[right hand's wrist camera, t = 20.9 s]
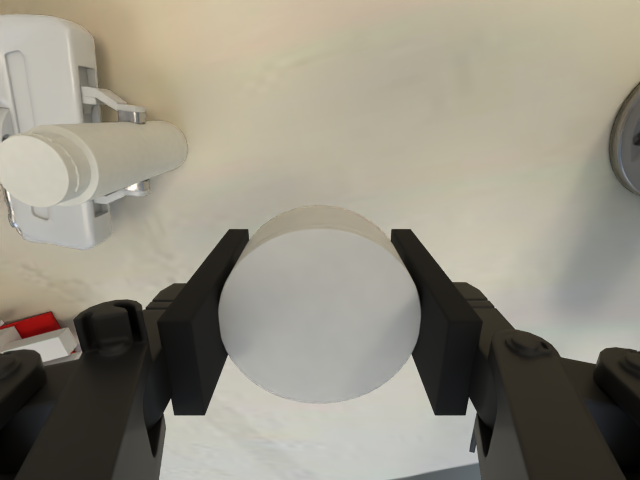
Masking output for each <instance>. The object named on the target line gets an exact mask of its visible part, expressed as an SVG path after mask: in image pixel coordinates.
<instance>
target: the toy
mask: <svg viewBox="0 0 640 480" xmlns="http://www.w3.org/2000/svg"><path fill="white" fill-rule="evenodd" d="M3 324H4V322H3V321H2V320H0V353H4V352H7V351H14V350H21V349H29V350H35V351H37V352H38V353H39V354H40V355H41V358H42V361H43V364H44V366H46V365H51V364H56V363H62V362H67V361H72V360H76V359H79V358H80V356H81V354H82V351H80V352H76V353H75V352H74V349H75V348H76V346H77V345H78V344H77V342H76V340H75V339H74V337H73V335H72V333H71V331H70V329H69V328H68V327H66V328H63V329H61V328H60V327H59V325H58V323H57V322H56V320H55V318H54V316H53V315H52V313H51V312H48V313H45V314H41V315H38V316H34V317H31V318H28V319H24V320H21V321H17V322H14V323H11V324H7V325H4V326H2V325H3Z"/></svg>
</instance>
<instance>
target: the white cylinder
mask: <svg viewBox="0 0 640 480" xmlns="http://www.w3.org/2000/svg"><path fill="white" fill-rule="evenodd" d="M218 316H219V325H220V333H221V339H222V342H223V344H224V347H225V349H226V351H227V353H228V355H229V356H230V358H231V360H232V361H233V362H234V364H235V365H236V366H237V367H238V369H239V370H240V371H241V372H242V373H243V374H244V375H245V376H246V377H247V378H249V379H250V380H251V381H252V382H254V383H255V384H256V385H258V386H260V387H261V388H263V389H265V390H266V391H268V392H271V393H273V394H275V395H277V396H280V397H283V398H286V399H289V400H294V401H298V402H305V403H335V402H341V401H346V400H350V399H353V398H356V397H360V396H362V395H364V394H367V393H369V392H371V391H373V390H375V389H376V388H378V387H380V386H381V385H383V384H384V383H386V382H387V381H388V380H390V379H391V378H392V377H393V376H394V375H395V374H396V373H397V372H398V371H399V370H400V369H401V368H402V367H403V365H404V364H405V363H406V361H407V360H408V358H409V357H410V355H411V354H412V352H413V349H414V347H415V345H416V343H417V339H418V336H419V330H420V322H421V304H420V299H419V295H418V292H417V289H416V286H415V284H414V282H413V280H412V278H411V276H410V274H409V272H408V271H407V269H406V267H405V265H404V263H403V262H402V260H401V258H400V256H399V255H398V253H397V251H396V249H395V247H394V246H393V244H392V243H391V241H390V240H389V238H388V237H387V236H386V234H385V233H384V232H383V231H382V230H381V229H380V228H379V227H378V226H376V225H375V224H374V223H372V222H371V221H370V220H368V219H366V218H365V217H363V216H361V215H359V214H357V213H355V212H352V211H350V210H346V209H343V208H339V207H333V206H306V207H301V208H297V209H293V210H290V211H287V212H285V213H282V214H280V215H278V216H276V217H275V218H273V219H271V220H270V221H268V222H267V223H266V224H264V225H263V226H262V227H261V228H260V229H259V230H258V231H257V232H256V233H255V234H254V235H253V236H252V237H251V239H250V240H249V241H248V243H247V245H246V246H245V248H244V250H243V252H242V254H241V255H240V257H239V259H238V261H237V263H236V264H235V266H234V268H233V270H232V271H231V273H230V275H229V277H228V279H227V280H226V282H225V284H224V287H223V290H222V292H221V296H220V301H219V305H218Z"/></svg>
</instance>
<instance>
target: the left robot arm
mask: <svg viewBox="0 0 640 480" xmlns="http://www.w3.org/2000/svg"><path fill="white" fill-rule="evenodd" d="M100 105H108V106H110V107H111V108H113V109H114V110H116V111H117V112H118V119H119V121H121V122H132V123H140V124H142V123H146V107H144V106H137V105H128V103H127V102H125V101H124V100H123V99H121V98H120V97H119V96H117V95H116V94H114V93H113V92H112V91H110V90H109V89H101V88H99V87H98V76H97V66H96V55H95V43H94V38H93V36H92V35H91V34H90V33H89V32H88V31H87V30H86V29H85V28H83V27H82V26H81V25H79V24H77V23H75V22H72V21H69V20H66V19H63V18H59V17H54V16H47V15H36V14H1V15H0V144H1V143H2V142H3V141H4V140H6V139H7V138H9V137H10V136H13V135H16V134H18V133H26V132H27V131H28V130H30V129H31V128H34V127H36V126H40V125H53V124H80V123H102V118H101V108H100ZM2 188H3V193H4V198H5V202H6V204H7V207H8V212H9V214H8V218H9V222H10V224H11V226H12V227H16V229H17V231H18V233H19V234H20V235H21V236H22V237H23V239H24V240H27V241H30V242H37V243H50V244H54V245H59V246H63V247H68V248H74V249H81V250H87V249H91V248H93V247H96V246H97V245H99V244H101V243H102V242H104V241H105V240H106V239H108V238H109V237H110V236H111V235H112V224H111V213H110V203H111V202H113V201H115V200H118V199H120V198H122V197H124V196H127V195H130V196H139V197H141V196H146V195H148V194H150V183H149V179H147V180H144V181H141V182H139V183H136V184H133V185H131V186H128V187H125V188H123V189H121V190H118V191H115V192H112V193H109V194H107V195H104V196H101V197H99V198H96V199H93V200H91V201H88V202H85V203H83V204H80V205H76V206H59V205H53V206H50V207H34V206H30V205H27V204H25V203H22V202H21V201H19V200H17V199H16V198H14V197H13V196H12V195H11V194H10V193H9V192H8V191H7V190H6V189H5V188H4V187H3V186H2Z"/></svg>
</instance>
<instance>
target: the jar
mask: <svg viewBox="0 0 640 480" xmlns="http://www.w3.org/2000/svg"><path fill="white" fill-rule="evenodd" d="M187 152H188V147H187V142H186V139H185V137H184V135H183V133H182V132H181V131H180V130H179V129H178V128H177V127H176V126H175V125H173V124H171V123H169V122H166V121H146V123H142V124H140V123H132V122H107V123H80V124H53V125H40V126H36V127H34V128H31V129H30V130H28V131H27V132H26V133H18V134H16V135H13V136H10V137H9V138H7V139H6V140H4V141H3V142H2V143H1V144H0V183H1V184H2V186H3V187H4V188H5V189H6V190H7V191H8V192H9V193H10V194H11V195H12V196H13V197H14V198H16V199H17V200H19V201H21V202H22V203H25V204H27V205H30V206H34V207H50V206H53V205H59V206H76V205H80V204H83V203H85V202H88V201H91V200H93V199H96V198H99V197H101V196H104V195H107V194H109V193H112V192H115V191H117V190H120V189H123V188H125V187H128V186H131V185H133V184H136V183H139V182H141V181H144V180H147V179H149V178H152V177H155V176H157V175H160V174H163V173H165V172H168V171H171V170H173V169H176V168H178V167H179V166H181V165H182V164H183V162H184V161H185V159H186V156H187Z"/></svg>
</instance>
